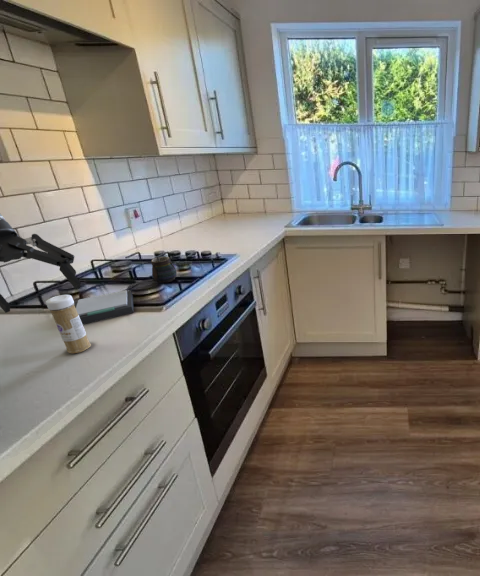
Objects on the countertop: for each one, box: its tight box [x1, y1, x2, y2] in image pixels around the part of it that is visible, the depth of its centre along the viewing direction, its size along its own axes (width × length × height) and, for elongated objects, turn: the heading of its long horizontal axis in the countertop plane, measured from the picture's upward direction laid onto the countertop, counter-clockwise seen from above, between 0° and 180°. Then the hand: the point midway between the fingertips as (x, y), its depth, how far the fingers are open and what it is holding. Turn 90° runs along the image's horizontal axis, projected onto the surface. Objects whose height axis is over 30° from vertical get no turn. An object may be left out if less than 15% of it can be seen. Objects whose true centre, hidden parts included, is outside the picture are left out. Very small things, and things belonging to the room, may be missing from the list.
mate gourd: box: [150, 256, 177, 284], centre depth 123 cm, size 7×8×10 cm
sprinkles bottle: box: [45, 294, 92, 354], centre depth 83 cm, size 5×5×13 cm
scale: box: [74, 289, 134, 325], centre depth 105 cm, size 14×14×3 cm
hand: (45, 297), depth 84 cm, fingers open, 13 cm apart
